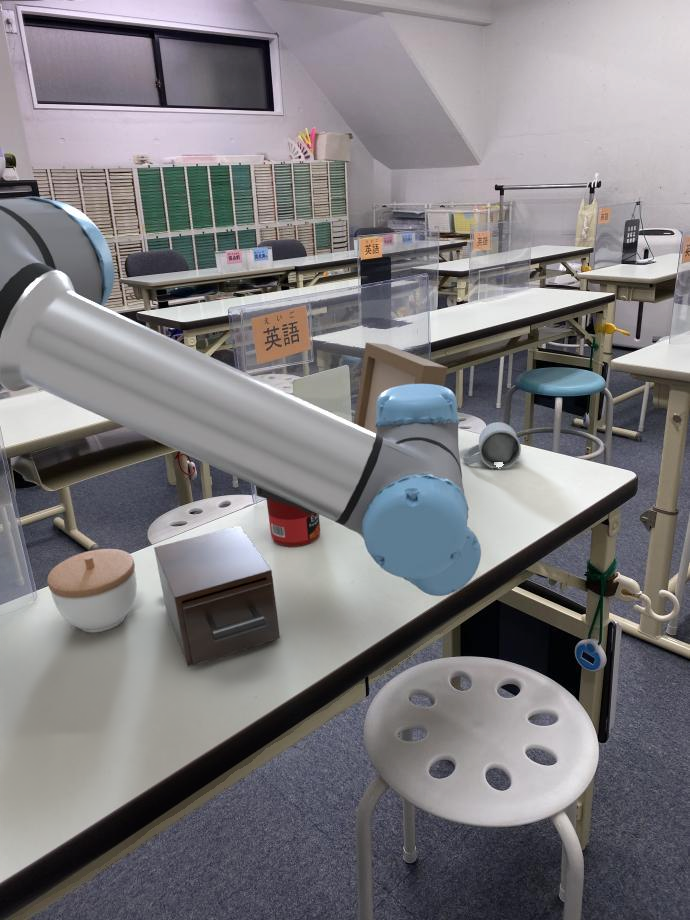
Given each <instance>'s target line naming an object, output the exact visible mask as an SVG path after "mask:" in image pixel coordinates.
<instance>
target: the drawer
mask: <svg viewBox="0 0 690 920" xmlns="http://www.w3.org/2000/svg"><path fill="white" fill-rule="evenodd" d="M182 602H183V603H182V610H183V615H184V621H185V626H186V632H187V637H188V643H189V648H190V654H191V659H192V662H193V665H192V666H197V665H200V664H204V663H206V662H209V661H213V660H215V659H219V658H222V657H225V656H228V655H231V654H234V653H238V652H241V651H244V650H247V649H249V648H254V647H256V646H260V645H262V644H265V643H268V642H271V641H272V642H273V641H275V640H278V639H279V638H278V633H277V625H276V617H275V608H274V600H273V592H272V584H271V582H270V581H269V579H266V580H263V581H260V579H259V580H255V581H252V582H248V583H245V584H241V585H238V586H234V587H231V588H227V589H224V590H220V591H217V592H213V593H210V594H206V595H202V596H199V597H195V598H192V599H188V600H185V601H182Z"/></svg>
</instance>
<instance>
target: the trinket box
mask: <svg viewBox="0 0 690 920" xmlns="http://www.w3.org/2000/svg"><path fill="white" fill-rule="evenodd" d="M135 566H136V565H135V560H134V558H133V556H132V555H131V554H130V553H129V552H128V551H125V550H121V549H118V548H100V549H93V550H88V551H84V552H82V553H81V552H80V553H77V554H75V555H73V556H70V557H68V558H66V559H64V560H63V561H61V562H59V563H58V564H57V565H56V566H54V567H53V568H52V569H51V570H50V572H49V573H48V575H47V578H46V582H47V583H46V584H47V586H48V589H49V591H50V594H51V597H52V600H53V603H54V604H55V607H56V609H57V611H58V613H59V614H60V616H61V617H62V618H63V619H64V620H65V621H66V622H67V623H69V624H70V625H72V626H73V627H76V628H79V629H80V630H82V631H83V632H86V633H101V632H105V631H109V630H111V629H113V628H115V627H117V626H118V625H120V624H121V623H122V622H124V620H125V619H126V617H127V615H128V614H129V612H130V610H131V609H132V608H133V605H134V603H135V600H136V597H137V588H138V587H137V584H138V583H137V574H136V570H135V568H136V567H135Z"/></svg>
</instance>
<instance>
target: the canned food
mask: <svg viewBox="0 0 690 920" xmlns="http://www.w3.org/2000/svg"><path fill="white" fill-rule="evenodd" d="M265 499H266V498H265ZM266 507H267V514H268V515H267V516H268V520H269V521H268V523H269V530H270V536H271V538H272V540H273V542H274V543H276V544H278V545H281V546H283V547H301V546H305V545H308V544H312V543H313V542H314V541H316V540H317V539H318V538H319V536H320V533H321V522H320V514H317V513H315V512H314V513H312V514H306V513H304V512H303V511H302V510H300V509H299V508H296V507H293V506H290V505H286V504H283V503H280V502H276V501H273V500H270V499H266Z"/></svg>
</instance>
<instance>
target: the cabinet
mask: <svg viewBox="0 0 690 920" xmlns="http://www.w3.org/2000/svg"><path fill="white" fill-rule="evenodd" d="M153 549H154V554H155V555H154V556H155V560H156V565H157V569H158V575H159V580H160V585H161V586H160V587H161V589H162V591H161V592H162V595H163V601H164V607H165V611H166V614H167V616H168V619H169V622H170V624H171V626H172V627H171V628H172V630H173V632H174V634H175V635H174V636H175V638H176V640H177V643H178V646H179V649H180V651H181V654H182V656H183V659H184V662H185V663H186V667H191V666H194V665H193V662H192V659H191V654H190V648H189V643H188V637H187V632H186V626H185V621H184V615H183V610H182V603H183V602H182V601H185V600H188V599H192V598H195V597H199V596H202V595H206V594H210V593H213V592H217V591H220V590H224V589H227V588H231V587H234V586H238V585H241V584H245V583H248V582H252V581H255V580H259V579H260V581H263V580H266V579H269V581H270V582H271V584H272V592H273V600H274V608H275V617H276V625H277V633H278V639H279V638H280V637H281V635H280V626H279V617H278V611H277V609H278V608H277V601H276V593H275V585H274V577H273V570H272V569H271V567H270V566H269V564H268V563H267V561H266V560H265V559H264V558H263V556H262V554H261V553H260V551H258V548H256V546H255V545H254V543H253V541H252V540H251V539H250V538H249V536H248V535H247V533H246V532H245V531H244V529H243V528H242V526H241V525H237V526H233V527H230V528H224V529H222V530H217V531H214V532H210V533H205V534H202V535H198V536H197V535H196V536H194V537H189V538H186V539H181V540H177V541H174V542H170V543H166V544H162V545H157V546H154V547H153Z"/></svg>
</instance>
